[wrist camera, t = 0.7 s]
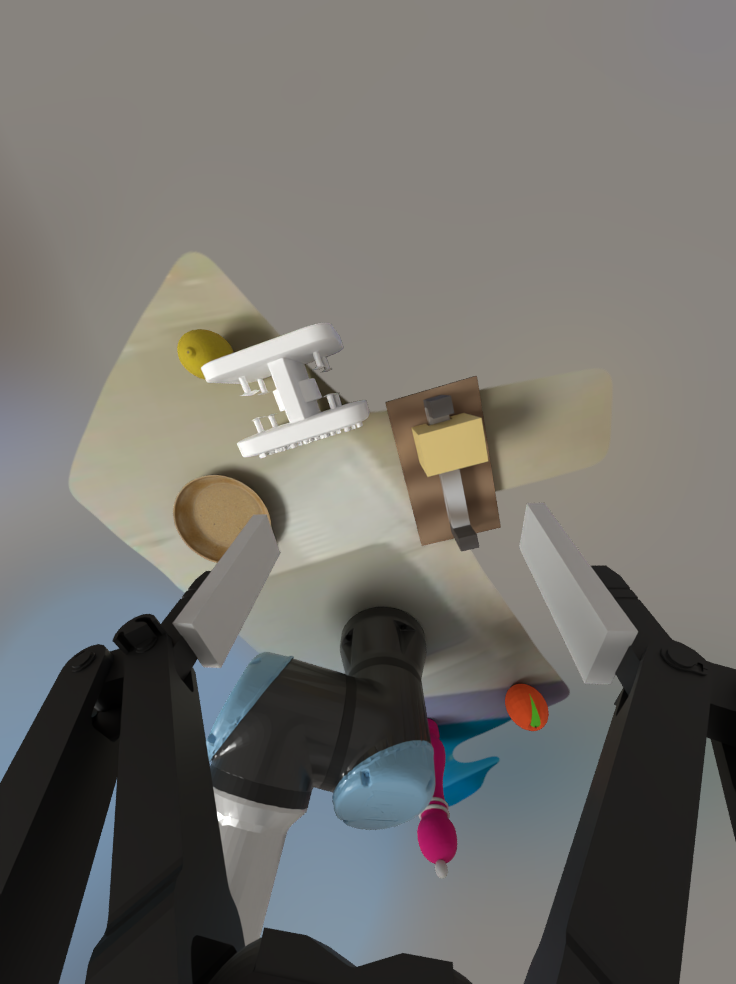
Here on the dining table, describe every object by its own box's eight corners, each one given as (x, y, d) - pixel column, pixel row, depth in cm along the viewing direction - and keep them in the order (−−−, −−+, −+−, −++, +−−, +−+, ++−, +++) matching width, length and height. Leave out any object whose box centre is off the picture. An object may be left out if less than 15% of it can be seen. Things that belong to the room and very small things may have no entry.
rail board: (496, 523, 46) (516, 545, 40) (420, 541, 48) (427, 565, 41) (473, 376, 40) (492, 373, 33) (385, 402, 41) (386, 404, 34)
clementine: (498, 672, 56) (515, 710, 49) (536, 668, 56) (558, 707, 49) (499, 702, 59) (515, 743, 52) (535, 699, 58) (556, 740, 51)
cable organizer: (347, 334, 38) (335, 313, 27) (371, 415, 42) (369, 425, 31) (242, 371, 40) (191, 365, 29) (272, 446, 44) (237, 466, 33)
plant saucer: (294, 507, 47) (289, 513, 44) (248, 571, 51) (241, 581, 48) (209, 451, 44) (199, 454, 42) (168, 523, 48) (157, 531, 46)
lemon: (208, 328, 39) (166, 314, 31) (249, 345, 39) (218, 336, 32) (199, 371, 40) (158, 367, 33) (239, 387, 41) (208, 387, 33)
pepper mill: (426, 744, 63) (447, 896, 44) (397, 730, 62) (407, 880, 43) (447, 724, 61) (478, 875, 42) (417, 710, 60) (436, 858, 41)
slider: (470, 449, 41) (488, 461, 34) (419, 462, 42) (427, 476, 35) (463, 412, 39) (481, 417, 33) (411, 427, 40) (418, 435, 33)
